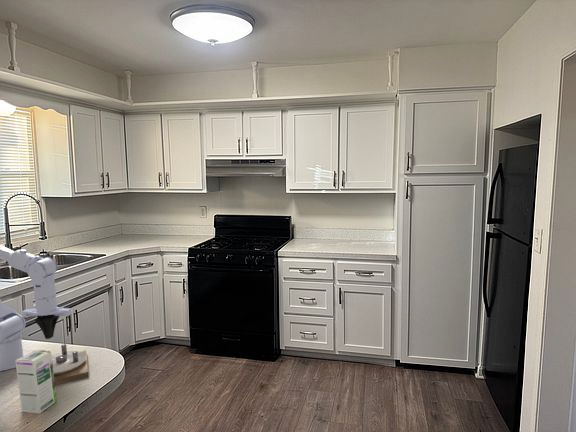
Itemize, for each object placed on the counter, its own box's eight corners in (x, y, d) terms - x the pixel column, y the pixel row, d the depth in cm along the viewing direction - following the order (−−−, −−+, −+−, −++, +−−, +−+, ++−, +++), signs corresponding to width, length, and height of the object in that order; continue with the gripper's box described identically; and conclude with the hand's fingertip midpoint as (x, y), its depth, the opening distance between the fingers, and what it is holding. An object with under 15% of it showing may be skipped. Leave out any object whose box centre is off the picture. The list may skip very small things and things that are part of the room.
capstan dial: (43, 360, 125) (41, 346, 124) (87, 352, 129) (86, 339, 129) (32, 379, 113) (30, 365, 112) (82, 370, 117) (80, 356, 117)
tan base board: (38, 365, 125) (37, 359, 125) (86, 354, 132) (86, 349, 132) (33, 390, 110) (33, 383, 110) (88, 376, 117) (87, 370, 117)
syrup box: (39, 414, 99) (34, 360, 97) (20, 412, 100) (14, 359, 98) (57, 401, 104) (52, 350, 103) (38, 399, 106) (33, 349, 104)
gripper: (75, 292, 126) (78, 331, 128) (31, 293, 126) (35, 332, 128) (62, 299, 119) (66, 341, 121) (16, 300, 119) (20, 342, 121)
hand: (49, 337), depth 124 cm, fingers closed
